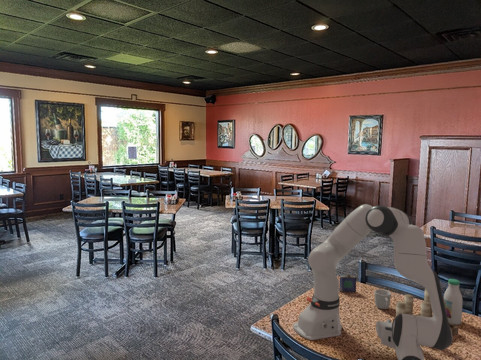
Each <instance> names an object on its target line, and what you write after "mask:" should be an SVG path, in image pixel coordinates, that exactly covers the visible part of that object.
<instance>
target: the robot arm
mask: <svg viewBox="0 0 481 360" xmlns="http://www.w3.org/2000/svg"><path fill="white" fill-rule="evenodd" d="M372 231H373V232H375V233H377V234H381V235H383V236H386V237H390V238H391V239H392V241H393V263H394V267H395V270H396V271H397V273H398V274H399V275H401V276H403V277H404V278H406V279H408V280H409V281H411V282H414V283H416V284H418V285H420V286H421V287H423V288H424V290H425V289H426V290H427V291H428V293H429V297H430V302H431V307H432V315H433V317H422V316H415V315H416V314H413V315H409V314H399V315H397V316H396V315H395V317H394V318H393V320H391V319H389V318H387V319H386V321H381V320H378V321H376V323H375V330H376V331H375V332H376V334H377V337H378V338H379V339H380V343H381V345H382V346H387V347H389V348H392V349H393V350H394V351H395V355H396V358H397V360H425V356H424V353H423V352H424V351H423V349H422V347H428V348H431V349H436V350H439V351H445V350H447V349H448V348H449V347H450V346H452V344H453V339H454V338H453V336H452V331H451V328H450V325H449V322H448V318H447V313H446V308H445V304H444V294H443V290H442V287H441V283H440V279H439V275H438V274H437V272H436V271H434V270H433V269H432V268H431V266H430V265H429V262H428V256H427V255H428V253H427V252H428V251H427V243H426V242H427V241H426V236H425V233H424V231H423V229H422V228H421V227H420V226H418V225H414V224H413V222H412V218H411V216H410V215H409V214H408V213H407V212H405V211H404V210H400V209H398V208H396V207H391V206H385V205H375V206H372V204H371V205H370V204H367V203H365V204H360V205H359V206H358V207H356V208H355V209H354V210H353V211H351V212H350V213H349V214H348V215H347V216H345V218H344V219H343V220H342V221H341V222H340V223H339V224H338V225H337V226H336V227H335V228H334V230H333V231H332V232H331V233H330V235H329V236H328V237H327V238H326V239H325V240H324V241H323V242H321V244H319V245H317V246H316V247H314V248H313V249H312V250H311V251H310V253H309V255H308V257H307V262H308V266H309V267H310V269H311V270H312V275H313V294H312V296H311V297H310V296H307V297H305V298H306V301H307V302H309V303H310V304H309V305H307V306H306V307H305V309H303V310H302V311H301V312H300V313H299V315H298V320H297V321H296V322H294V323H292V328H293V331H295V332H296V333H297V334H298V335H299V336H301V337H302V338H305V339H306V340H310V341H314V340H315V341H317V340H320V339H321V340H322V339H326V338H331V337H339V336H341V335H342V329H343V328H342V323H341V318H340V309H339V308H340V305H341V304H340V303H341V301H340V296H339V295H340V291H339V286H340V279H339V278H338V276H337V271H336V269H337V268H336V267H337V264H338V263H340V262H341V261H342V260H343V259H344V258H345V256H347V255H348V254H349V253H350V252H351V251H352V250H353V249H354V248H355V247H356V246H357V245H359V243H360V242H361V241H363V239H364V238H366V236H368V235H369V234H370V233H371V232H372ZM421 346H422V347H421Z"/></svg>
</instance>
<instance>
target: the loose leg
mask: <svg viewBox="0 0 481 360" xmlns="http://www.w3.org/2000/svg"><path fill="white" fill-rule="evenodd" d="M395 305H396V307H395V317H396V316H397V315H399V314H405V310H406V303H405V302H404V301H402V300H398V301H396V304H395Z"/></svg>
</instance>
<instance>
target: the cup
mask: <svg viewBox="0 0 481 360" xmlns="http://www.w3.org/2000/svg"><path fill="white" fill-rule="evenodd" d="M391 299H392V293H391V292H390V291H389V290H387V289H381V288H380V289H379V288H376V289H375V290H374V303H375V307H377V308H378V309H379V310H380V309H381V310H387V309H389V308H390V305H391Z"/></svg>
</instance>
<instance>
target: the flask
mask: <svg viewBox="0 0 481 360" xmlns="http://www.w3.org/2000/svg"><path fill="white" fill-rule="evenodd" d="M340 292H341V293H357V276H355V275H350V273H349V272H347V273H346V275H340V276H339V293H340Z"/></svg>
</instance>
